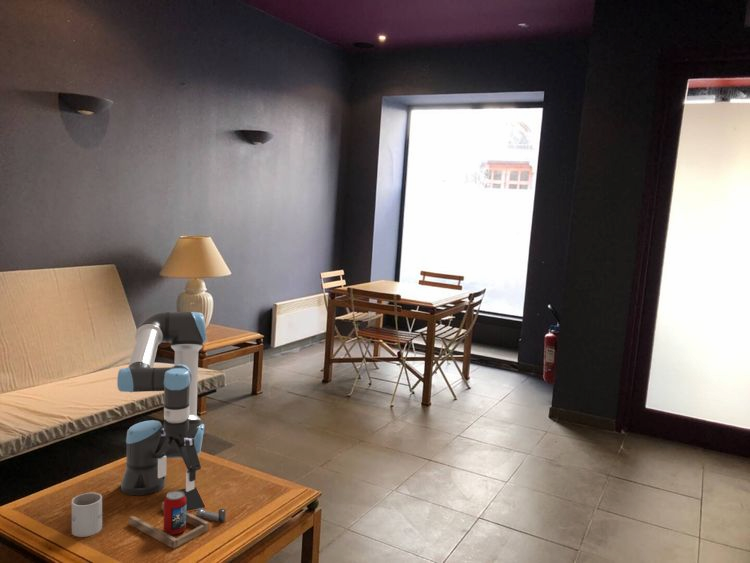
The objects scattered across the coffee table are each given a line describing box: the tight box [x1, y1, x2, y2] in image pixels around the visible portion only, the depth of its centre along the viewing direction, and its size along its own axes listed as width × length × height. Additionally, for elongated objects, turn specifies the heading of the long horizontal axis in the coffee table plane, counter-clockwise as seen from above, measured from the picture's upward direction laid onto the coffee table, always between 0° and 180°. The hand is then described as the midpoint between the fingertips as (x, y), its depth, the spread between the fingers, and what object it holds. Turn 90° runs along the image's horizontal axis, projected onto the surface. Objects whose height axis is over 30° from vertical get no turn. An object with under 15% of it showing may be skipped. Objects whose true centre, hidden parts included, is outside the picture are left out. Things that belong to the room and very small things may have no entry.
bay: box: [129, 501, 210, 549], centre depth 188 cm, size 22×13×2 cm, turn 57°
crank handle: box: [195, 508, 227, 523], centre depth 194 cm, size 11×3×4 cm, turn 72°
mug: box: [71, 492, 103, 538], centre depth 185 cm, size 12×9×10 cm
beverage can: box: [163, 490, 187, 535], centre depth 185 cm, size 7×7×12 cm
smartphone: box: [175, 486, 207, 513], centre depth 206 cm, size 8×17×1 cm, turn 29°
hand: (175, 483), depth 185 cm, fingers open, 13 cm apart
